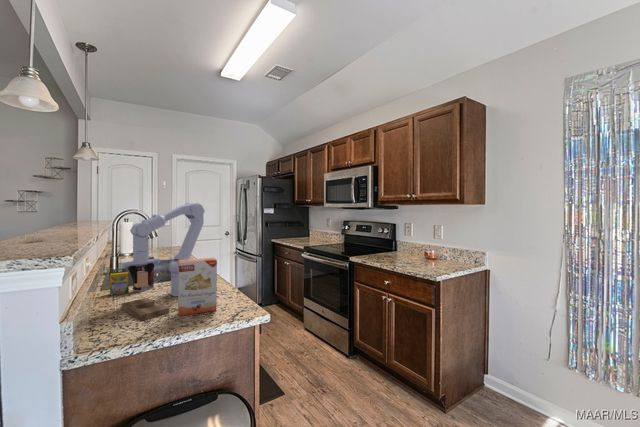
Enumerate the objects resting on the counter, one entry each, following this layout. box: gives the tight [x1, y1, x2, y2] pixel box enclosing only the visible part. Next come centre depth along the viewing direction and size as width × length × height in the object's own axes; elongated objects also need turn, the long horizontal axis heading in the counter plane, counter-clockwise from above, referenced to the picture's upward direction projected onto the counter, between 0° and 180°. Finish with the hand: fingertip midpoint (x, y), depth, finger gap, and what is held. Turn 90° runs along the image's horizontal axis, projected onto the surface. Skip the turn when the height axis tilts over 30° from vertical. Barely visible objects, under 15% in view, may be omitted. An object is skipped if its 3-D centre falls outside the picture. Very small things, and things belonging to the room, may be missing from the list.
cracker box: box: [177, 257, 218, 317], centre depth 119 cm, size 14×6×21 cm, turn 117°
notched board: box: [120, 297, 170, 321], centre depth 120 cm, size 10×20×2 cm, turn 52°
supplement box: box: [132, 256, 155, 293], centre depth 149 cm, size 9×5×16 cm, turn 168°
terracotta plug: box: [134, 271, 148, 288], centre depth 129 cm, size 4×4×6 cm
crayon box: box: [109, 267, 130, 296], centre depth 142 cm, size 7×3×12 cm, turn 126°
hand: (141, 282), depth 129 cm, fingers closed on terracotta plug, 4 cm apart
